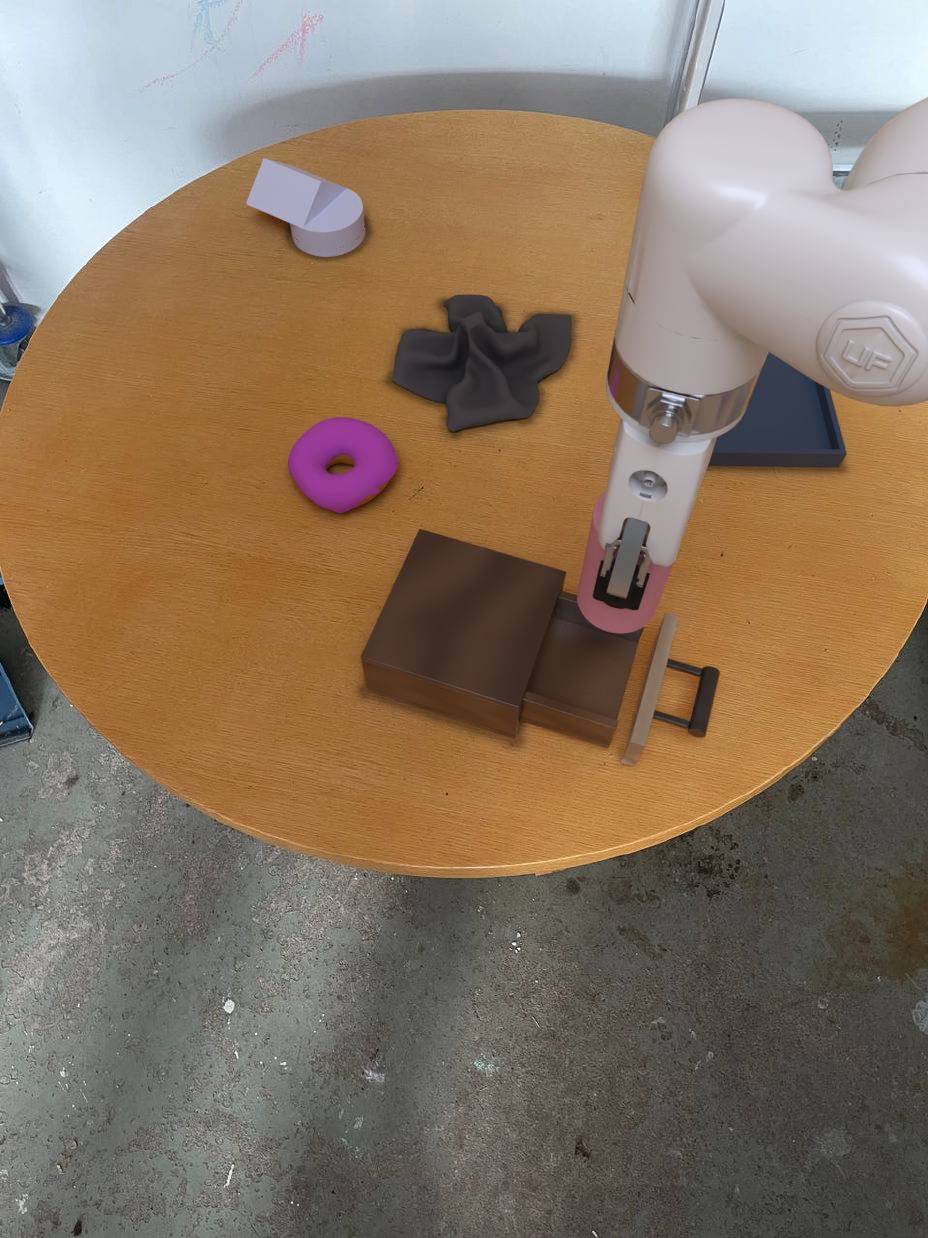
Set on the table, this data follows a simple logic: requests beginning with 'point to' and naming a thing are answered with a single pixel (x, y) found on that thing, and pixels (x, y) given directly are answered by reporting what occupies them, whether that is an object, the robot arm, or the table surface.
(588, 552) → the cylinder
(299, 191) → the wedge on round base
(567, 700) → the drawer
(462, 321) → the cloth
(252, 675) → the table surface
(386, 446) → the donut
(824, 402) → the tray
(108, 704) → the table surface
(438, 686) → the cabinet
